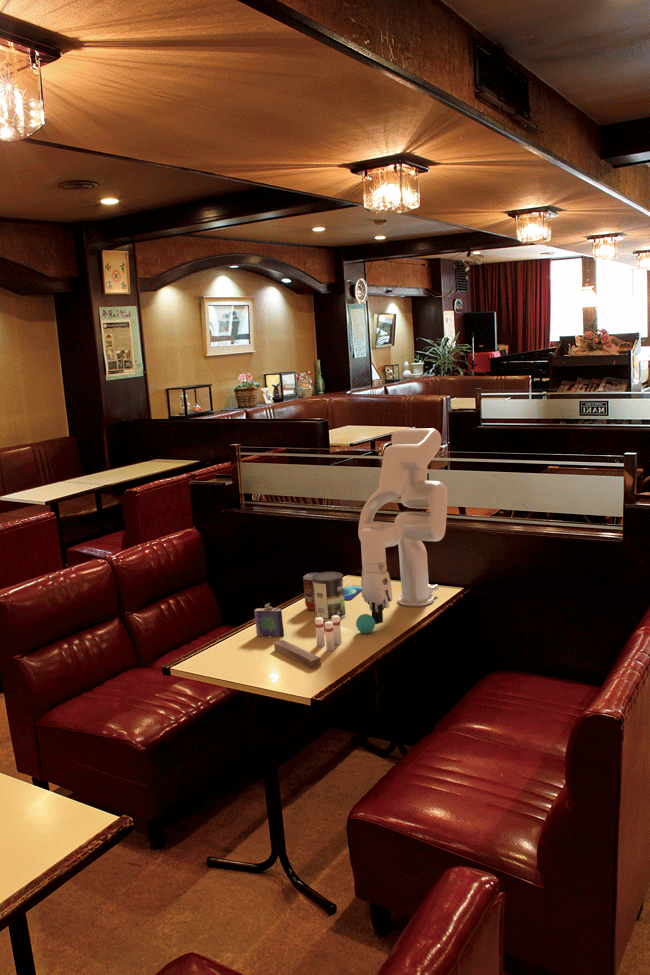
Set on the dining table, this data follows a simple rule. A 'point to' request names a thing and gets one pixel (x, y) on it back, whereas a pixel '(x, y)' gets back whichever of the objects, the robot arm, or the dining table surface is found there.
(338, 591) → the coffee can
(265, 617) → the flask
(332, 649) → the back pin left
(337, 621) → the front pin
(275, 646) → the back wall
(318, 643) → the back pin right
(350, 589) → the smartphone
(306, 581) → the soda can
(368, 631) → the ball
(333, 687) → the dining table surface
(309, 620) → the dining table surface
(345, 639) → the dining table surface
